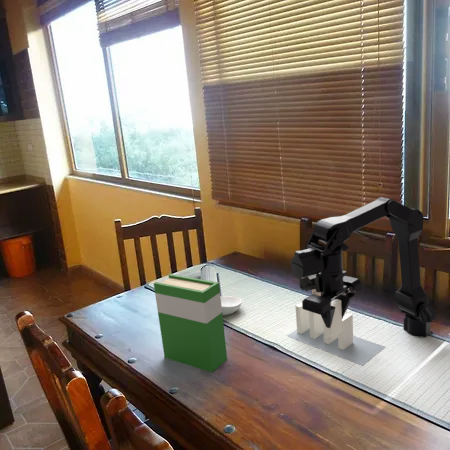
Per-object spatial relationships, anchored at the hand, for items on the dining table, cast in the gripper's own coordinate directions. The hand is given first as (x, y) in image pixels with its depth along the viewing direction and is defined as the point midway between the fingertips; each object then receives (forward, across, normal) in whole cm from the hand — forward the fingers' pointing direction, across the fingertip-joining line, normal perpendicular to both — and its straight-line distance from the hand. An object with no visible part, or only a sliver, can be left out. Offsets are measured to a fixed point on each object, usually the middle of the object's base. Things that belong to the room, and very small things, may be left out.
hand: (334, 323), depth 123 cm
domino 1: (+12, -9, -18) cm, 23 cm away
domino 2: (+12, -9, -13) cm, 19 cm away
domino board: (+13, -9, -7) cm, 17 cm away
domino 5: (+12, -9, -3) cm, 15 cm away
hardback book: (+12, +22, -34) cm, 42 cm away
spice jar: (+13, -24, -23) cm, 35 cm away
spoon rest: (+13, +1, -49) cm, 50 cm away
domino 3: (+3, 0, 0) cm, 3 cm away
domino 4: (+12, -9, -8) cm, 16 cm away
